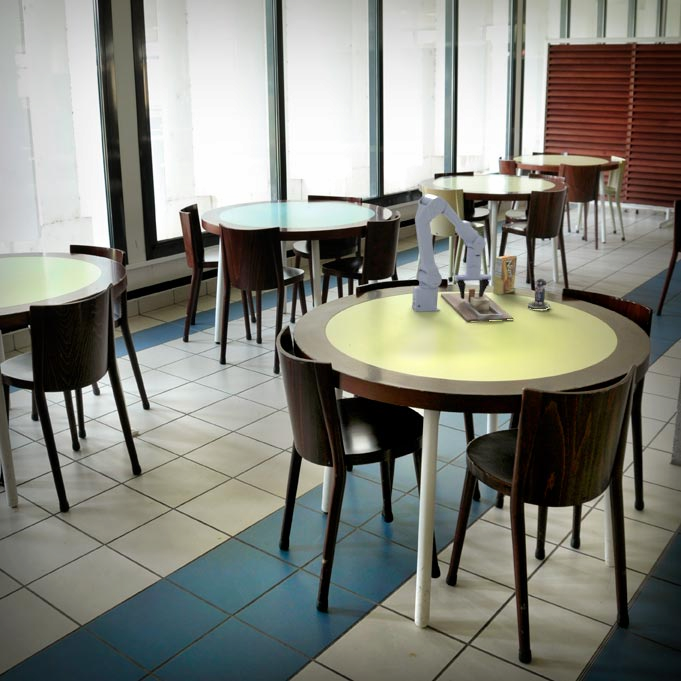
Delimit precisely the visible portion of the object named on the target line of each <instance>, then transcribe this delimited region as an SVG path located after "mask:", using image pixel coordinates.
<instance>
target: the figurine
mask: <svg viewBox="0 0 681 681" xmlns="http://www.w3.org/2000/svg"><path fill="white" fill-rule="evenodd" d="M546 285H547V281H546V280H545V279H543V278H539V279H537V280H536V284H535V290H534V292H535V293H534V301H532V302H529V303H528V304H527V309H529V308H531V309H546V308H548V307H550V308H551V304H550V303H548V302H547V301H545V298H546ZM531 309H530V310H531Z"/></svg>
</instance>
